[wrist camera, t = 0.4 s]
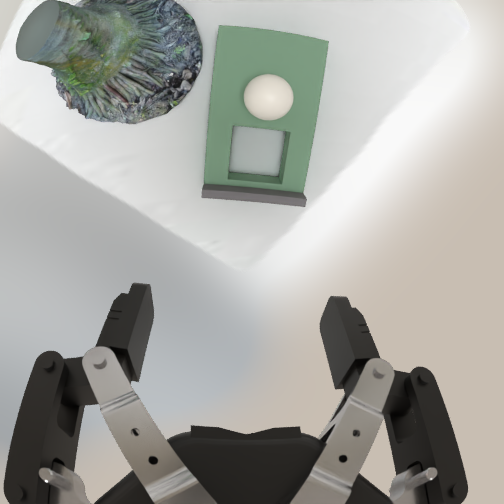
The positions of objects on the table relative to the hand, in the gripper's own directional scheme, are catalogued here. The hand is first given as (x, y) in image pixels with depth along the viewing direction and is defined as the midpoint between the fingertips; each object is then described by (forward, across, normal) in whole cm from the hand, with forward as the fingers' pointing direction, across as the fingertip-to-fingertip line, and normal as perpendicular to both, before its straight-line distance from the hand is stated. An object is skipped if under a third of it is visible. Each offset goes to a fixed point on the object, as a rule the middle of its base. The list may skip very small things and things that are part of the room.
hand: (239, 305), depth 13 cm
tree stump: (+27, +16, -12) cm, 34 cm away
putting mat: (+26, -2, -6) cm, 27 cm away
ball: (+21, -2, -8) cm, 22 cm away
